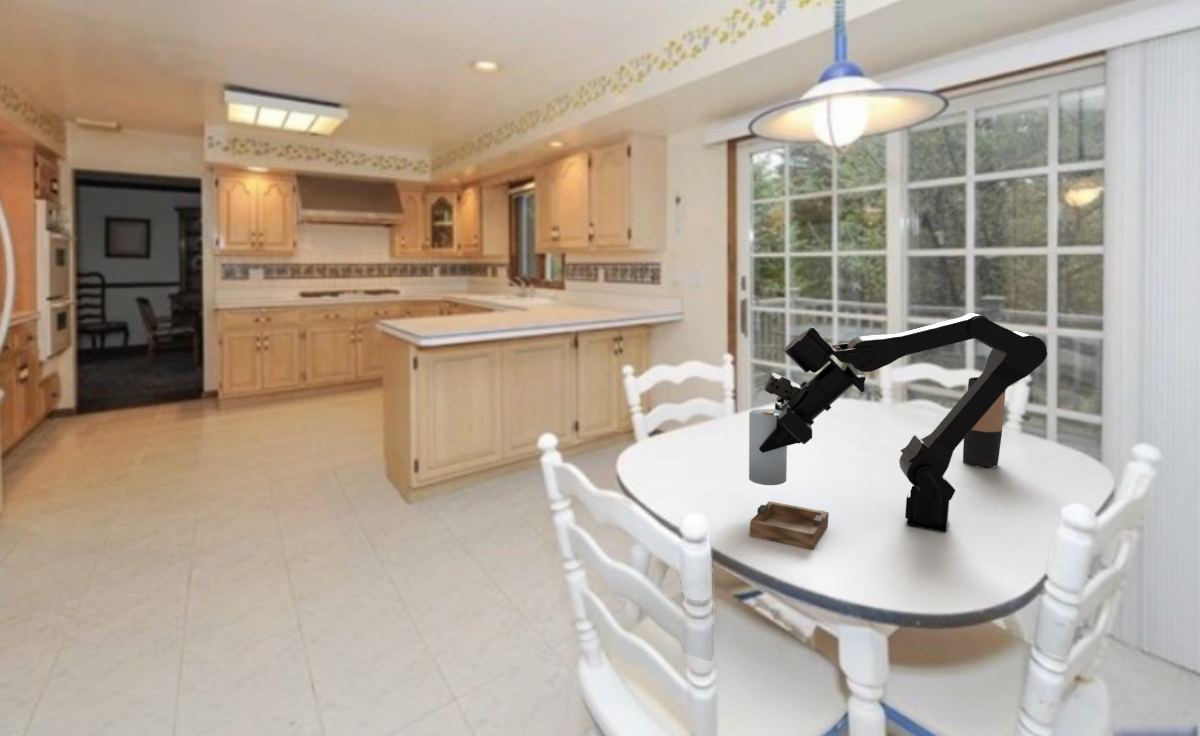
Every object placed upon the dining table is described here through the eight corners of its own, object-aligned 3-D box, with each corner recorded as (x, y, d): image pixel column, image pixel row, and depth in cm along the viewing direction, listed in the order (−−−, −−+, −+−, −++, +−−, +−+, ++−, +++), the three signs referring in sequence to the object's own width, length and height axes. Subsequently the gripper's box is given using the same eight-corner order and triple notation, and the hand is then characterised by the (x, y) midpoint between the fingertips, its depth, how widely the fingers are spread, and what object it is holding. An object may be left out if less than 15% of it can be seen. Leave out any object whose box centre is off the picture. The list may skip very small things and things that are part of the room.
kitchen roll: (789, 474, 127) (790, 409, 124) (783, 487, 120) (784, 418, 118) (752, 470, 129) (753, 406, 127) (745, 482, 123) (745, 415, 121)
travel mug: (956, 457, 157) (962, 376, 153) (990, 458, 156) (997, 377, 152) (969, 468, 149) (976, 383, 146) (1005, 469, 148) (1013, 383, 145)
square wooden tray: (828, 526, 119) (829, 508, 118) (813, 550, 109) (814, 530, 109) (768, 514, 124) (768, 497, 124) (749, 536, 115) (749, 517, 115)
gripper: (789, 352, 129) (732, 404, 133) (794, 367, 111) (728, 427, 115) (829, 391, 128) (771, 443, 133) (841, 414, 110) (773, 472, 115)
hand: (760, 445), depth 124 cm, fingers closed on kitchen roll, 7 cm apart
